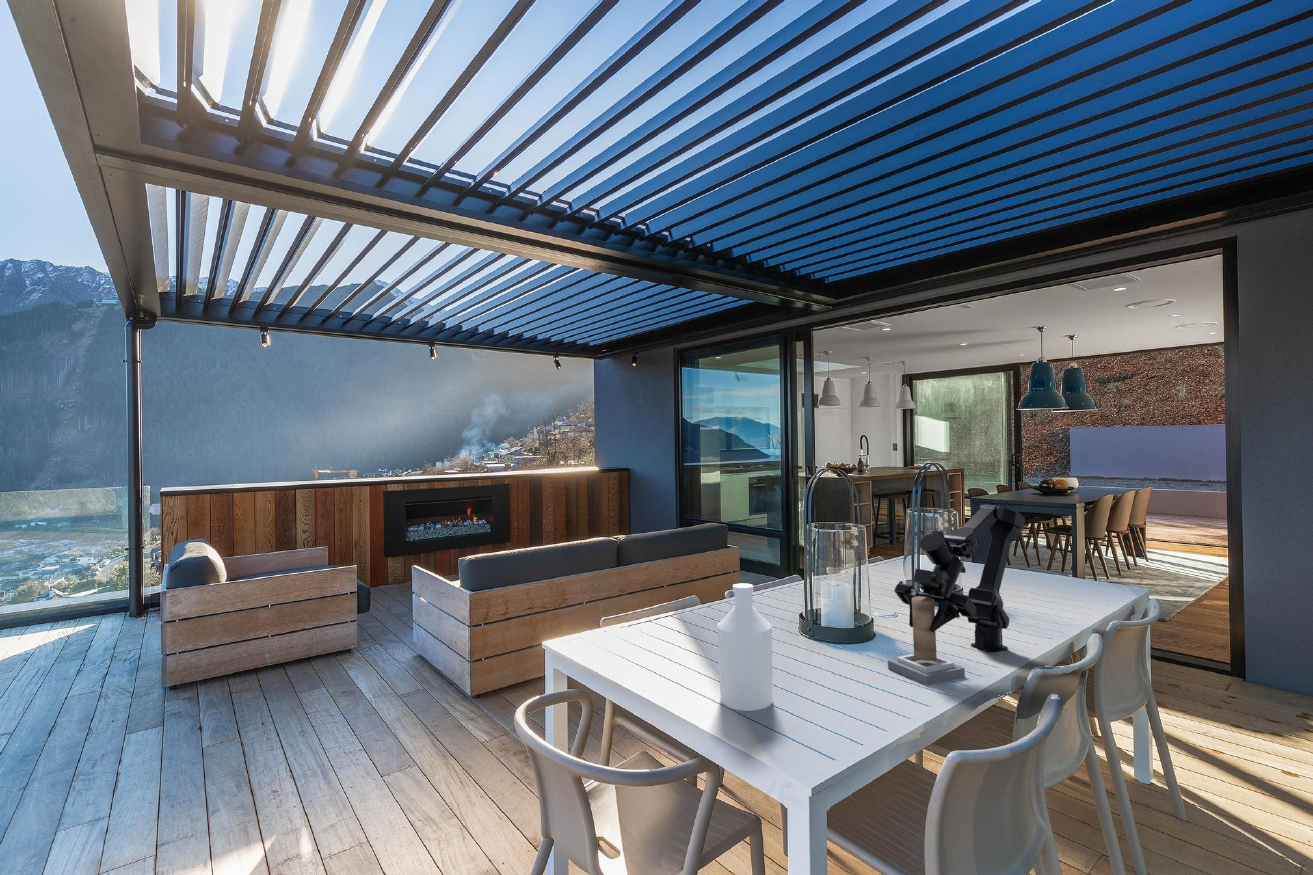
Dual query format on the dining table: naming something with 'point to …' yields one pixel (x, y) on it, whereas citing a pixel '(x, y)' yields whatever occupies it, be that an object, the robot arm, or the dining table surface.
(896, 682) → the dining table surface
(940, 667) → the base
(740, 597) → the bottle
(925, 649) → the post
